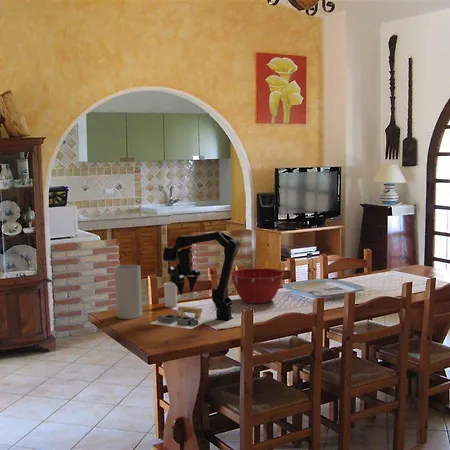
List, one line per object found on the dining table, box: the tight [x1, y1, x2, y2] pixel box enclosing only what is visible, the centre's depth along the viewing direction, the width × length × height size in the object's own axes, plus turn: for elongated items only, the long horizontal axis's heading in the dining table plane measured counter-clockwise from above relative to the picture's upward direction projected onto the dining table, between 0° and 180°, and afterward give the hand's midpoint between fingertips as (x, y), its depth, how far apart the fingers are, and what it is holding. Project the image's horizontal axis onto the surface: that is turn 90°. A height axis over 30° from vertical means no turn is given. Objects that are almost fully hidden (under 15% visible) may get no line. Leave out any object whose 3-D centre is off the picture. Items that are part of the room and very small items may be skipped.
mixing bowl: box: [230, 268, 284, 305], centre depth 340 cm, size 28×28×15 cm
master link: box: [177, 305, 203, 320], centre depth 309 cm, size 12×3×5 cm, turn 62°
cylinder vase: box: [114, 264, 143, 320], centre depth 313 cm, size 12×12×25 cm
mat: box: [149, 317, 206, 330], centre depth 299 cm, size 23×13×1 cm, turn 62°
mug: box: [163, 281, 182, 308], centre depth 334 cm, size 10×7×12 cm, turn 124°
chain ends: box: [157, 313, 199, 327], centre depth 299 cm, size 21×6×2 cm, turn 62°
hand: (186, 292), depth 310 cm, fingers open, 9 cm apart
